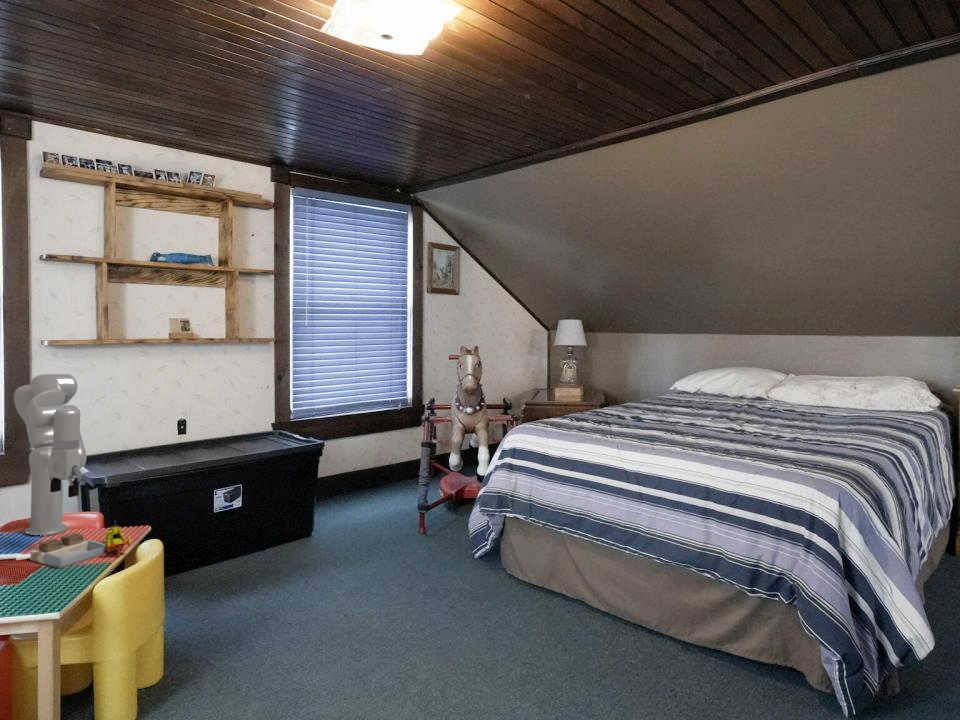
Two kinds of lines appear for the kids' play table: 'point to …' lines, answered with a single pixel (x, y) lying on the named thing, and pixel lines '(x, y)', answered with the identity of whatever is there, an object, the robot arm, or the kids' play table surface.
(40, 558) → the plate
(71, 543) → the tile
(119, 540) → the toy car
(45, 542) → the tile
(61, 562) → the box
